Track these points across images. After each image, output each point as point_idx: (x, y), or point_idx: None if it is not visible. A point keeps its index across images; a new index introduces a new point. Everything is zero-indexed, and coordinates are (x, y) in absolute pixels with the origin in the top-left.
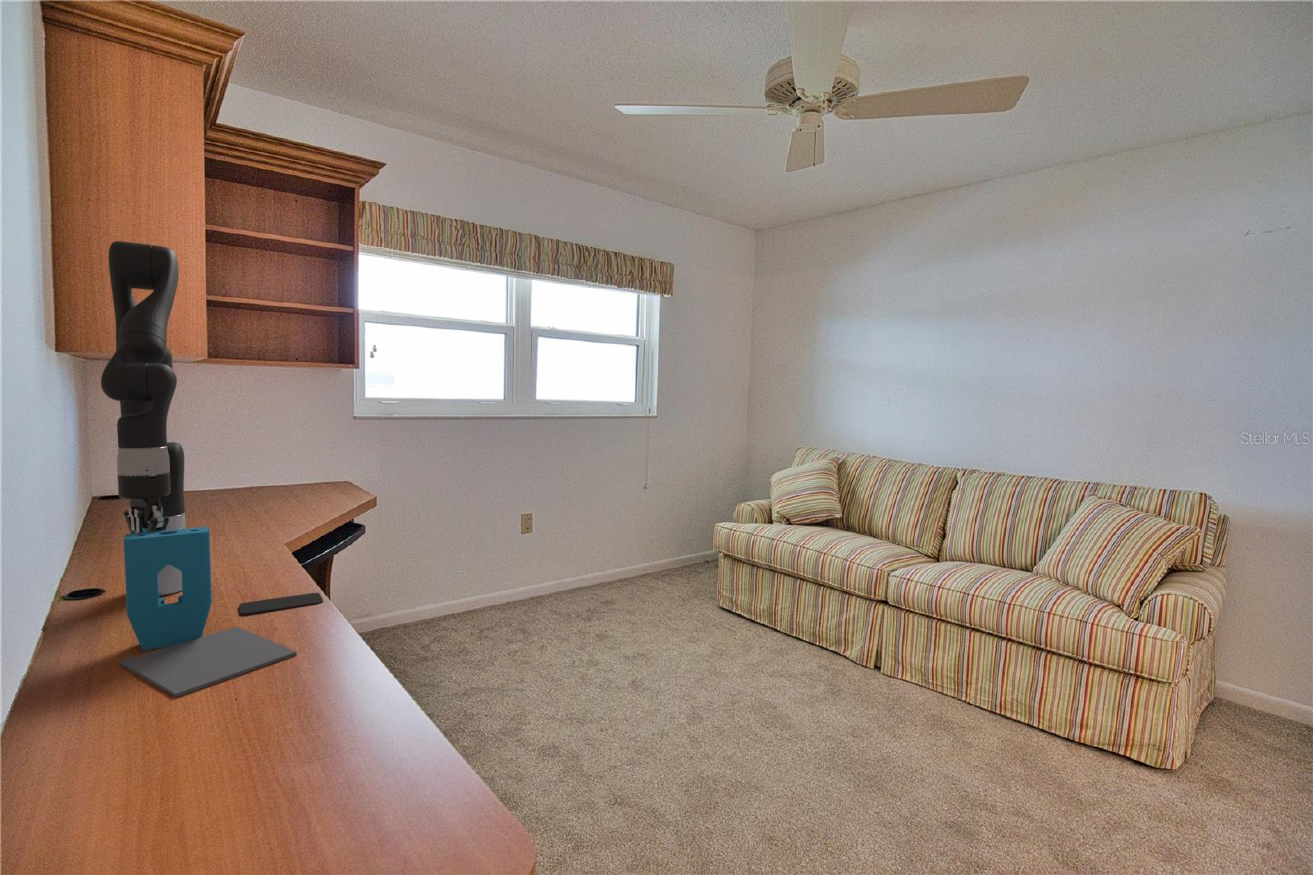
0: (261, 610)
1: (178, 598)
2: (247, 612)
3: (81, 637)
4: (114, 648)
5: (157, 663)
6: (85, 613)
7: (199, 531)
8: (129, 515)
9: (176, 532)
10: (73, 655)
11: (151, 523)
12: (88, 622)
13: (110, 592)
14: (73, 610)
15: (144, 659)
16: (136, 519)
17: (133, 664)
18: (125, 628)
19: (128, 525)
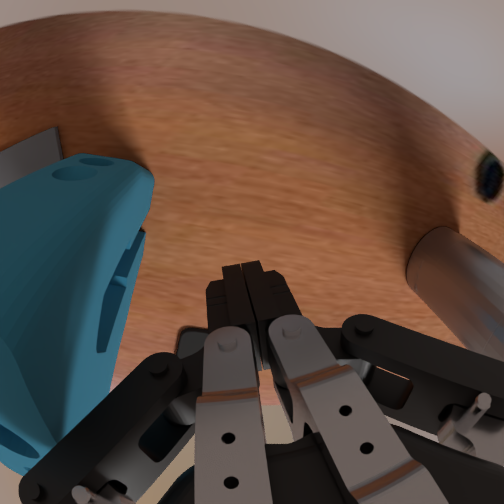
0: (180, 353)
1: (113, 273)
2: (183, 338)
3: (286, 88)
4: (154, 122)
5: (11, 180)
6: (422, 142)
7: (15, 467)
8: (418, 465)
9: (33, 453)
10: (173, 58)
11: (41, 481)
12: (372, 125)
13: (475, 204)
14: (446, 137)
15: (36, 163)
16: (266, 494)
17: (26, 147)
18: (277, 161)
19: (448, 350)
